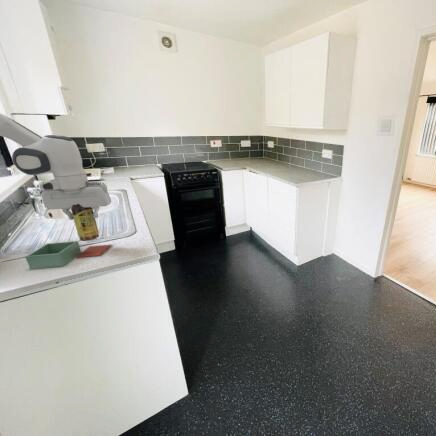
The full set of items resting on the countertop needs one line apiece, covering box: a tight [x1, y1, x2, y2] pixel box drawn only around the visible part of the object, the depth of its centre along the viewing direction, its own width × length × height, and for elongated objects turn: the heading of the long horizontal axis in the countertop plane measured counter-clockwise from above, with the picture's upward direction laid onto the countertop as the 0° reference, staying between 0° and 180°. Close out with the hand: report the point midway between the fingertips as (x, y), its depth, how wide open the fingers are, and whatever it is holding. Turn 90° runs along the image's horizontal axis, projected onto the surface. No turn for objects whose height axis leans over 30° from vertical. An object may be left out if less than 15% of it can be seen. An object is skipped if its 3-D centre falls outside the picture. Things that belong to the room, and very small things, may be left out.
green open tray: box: [24, 240, 82, 270], centre depth 91 cm, size 10×11×5 cm
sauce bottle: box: [70, 204, 100, 242], centre depth 92 cm, size 7×6×20 cm
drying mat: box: [76, 244, 112, 259], centre depth 98 cm, size 8×9×1 cm
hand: (84, 218), depth 93 cm, fingers closed on sauce bottle, 6 cm apart
